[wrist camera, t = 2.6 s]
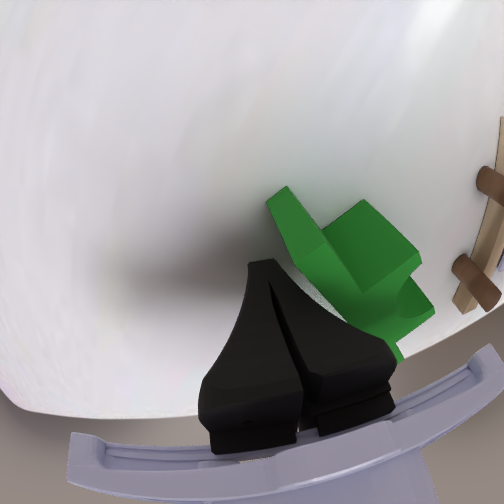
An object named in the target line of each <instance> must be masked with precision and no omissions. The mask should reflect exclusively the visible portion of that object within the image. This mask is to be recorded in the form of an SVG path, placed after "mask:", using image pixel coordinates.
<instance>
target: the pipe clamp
mask: <svg viewBox="0 0 504 504" xmlns="http://www.w3.org/2000/svg"><path fill="white" fill-rule="evenodd" d="M266 203H267V205H268V207H269V209H270V212H271V214H272V216H273V218H274V220H275V222H276V225H277V227H278V229H279V231H280V234H281V236H282V238H283V240H284V242H285V245H286V247H287V249H288V252H289V254H290V256H291V258H292V261H293V263H294V265H295V266H296V267H297V268H298V269H299V270H300V271H301V272H302V273H303V274H304V276H305V277H306V278H307V279H308V280H309V281H310V282H311V283H312V284H313V285H314V286H315V287H316V289H317V290H318V291H319V292H320V293H321V294H322V295H323V296H324V297H325V298H326V299H327V300H328V302H329V303H330V304H331V305H332V306H333V307H334V308H335V309H336V310H337V311H338V313H339V314H340V315H341V316H342V317H343V318H344V319H345V320H346V321H347V323H348V324H350V325H352V326H354V327H356V328H358V329H360V330H362V331H364V332H366V333H369V334H371V335H374V336H376V337H379V338H381V339H384V340H385V342H386V343H387V344H388V346H389V347H390V349H391V350H392V352H393V353H394V355H395V357H396V359H397V364H398V363H400V362H401V361H403V360H404V357H403V355H402V354H401V352H400V350H399V348H398V346H397V345H396V342H397V341H399V340H400V339H402V338H403V337H404V336H406V335H407V334H409V333H410V332H411V331H413V330H414V329H415V328H417V327H418V326H419V325H421V324H422V323H423V322H425V321H426V320H427V319H429V318H430V317H431V316H432V315H434V314H435V310H434V306H433V305H432V304H431V302H430V301H429V300H428V298H427V297H426V296H425V294H424V293H423V292H422V291H421V289H420V288H419V287H418V285H417V284H416V283H415V282H414V280H413V279H412V278H411V277H410V275H411V273H412V272H413V271H414V270H415V269H416V268H417V267H418V266H419V265H421V264H422V260H421V257H420V254H419V251H418V250H417V249H416V248H415V247H414V246H413V245H412V244H411V243H410V242H409V241H408V240H407V239H406V238H405V237H404V236H403V235H402V234H401V233H400V232H399V231H398V230H397V229H396V228H395V227H394V226H393V225H392V224H391V223H390V222H389V221H388V220H386V219H385V218H384V217H383V216H382V215H381V214H380V213H379V212H378V211H377V210H376V209H374V208H373V207H372V206H371V205H370V204H369V203H368V202H367V201H365V200H364V199H363V200H362V201H361V202H359V203H358V204H357V205H355V206H354V207H353V208H351V209H350V210H349V211H347V212H346V213H345V214H343V215H342V216H341V217H339V218H338V219H337V220H335V221H334V222H333V223H331V224H330V225H329V226H327V227H326V228H325V229H323V230H322V231H321V230H320V228H319V227H318V226H317V224H316V223H315V222H314V220H313V219H312V218H311V216H310V215H309V214H308V212H307V211H306V210H305V208H304V207H303V206H302V205H301V203H300V202H299V201H298V199H297V198H296V197H295V196H294V194H293V193H292V192H291V191H290V189H289V188H288V187H287V186H286V187H285V188H283V189H282V190H281V191H279V192H278V193H277V194H276V195H274V196H273V197H272V198H270V199H269V200H268V201H267V202H266Z"/></svg>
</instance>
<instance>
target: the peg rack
mask: <svg viewBox="0 0 504 504" xmlns="http://www.w3.org/2000/svg"><path fill="white" fill-rule="evenodd" d="M477 188H478V190H480V191H481V192H483V193H484V194H486V195H487V196H489V200H488V204H487V208H486V212H485V216H484V219H483V223H482V226H481V229H480V232H479V235H478V239H477V242H476V244H475V247H474V250H473V253H472V256H471V258H469V257H468V256H467V255H466V254H463V255H461V256H460V257H458V258H457V260H456V261H455V262H454V264H453V267H452V272H453V274H454V275H455V276H456V277H457V278H458V279H459V280H460V281H461V283H460V285H459V287H458V290H457V292H456V294H455V296H454V298H453V300H452V301H453V303H454V304H455V305H456V307H457V308H458V309H459V311H460V312H461V313H462V314H465V313H467V312H469V311H471V310H473V309H475V308H476V307H477V305H478V303H479V304H480V305H481V307H482V308H483V309H484V310H485V312H489V311H490V310H491V309H492V308H493V307H494V306H495V305H496V304H497V302H498V301H499V299H500V297H501V295H502V293H501V291H500V290H499V289H498V288H497V287H496V286H495V285H494V283H493V282H492V281H491V280H490V279H491V277H492V275H493V272H494V270H495V268H496V266H497V263H498V261H499V258H500V256H501V253H502V251H503V248H504V118H503V117H501V126H500V137H499V146H498V154H497V160H496V167H495V170H493V169H491V168H489V167H488V166H484V167H482V169H481V170H480V172H479V174H478V177H477Z"/></svg>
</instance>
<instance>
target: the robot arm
mask: <svg viewBox="0 0 504 504" xmlns="http://www.w3.org/2000/svg"><path fill="white" fill-rule="evenodd" d="M498 270H499V271H500V272H501V271H503V270H504V254H503V257H502V259H501V262H500V264H499V266H498ZM396 366H397V359H396V357H395V355H394V353H393V352H392V350H391V349H390V347H389V346H388V344H387V343H386V342H385V340H384V339H381V338H379V337H376V336H374V335H371V334H369V333H366V332H364V331H362V330H360V329H358V328H356V327H354V326H352V325H350V324H348V323H346V322H345V321H343V320H341V319H340V318H338V317H336V316H335V315H333V314H332V313H330V312H329V311H327V310H326V309H325V308H323V307H322V306H321V305H319V304H318V303H317V302H315V301H314V300H313V299H312V298H311V297H310V296H308V295H307V294H306V293H305V292H304V291H303V290H302V289H301V288H300V287H299V286H298V285H297V284H296V283H295V282H294V281H293V280H292V279H291V278H290V277H289V276H288V275H287V273H286V272H285V271H284V270H283V269H282V268H281V266H280V265H279V264H278V262H277V261H276V260H275V259H274V258H272V259H266V260H260V261H254V262H249V264H248V279H247V285H246V291H245V295H244V299H243V303H242V306H241V310H240V313H239V316H238V318H237V321H236V323H235V326H234V328H233V330H232V333H231V335H230V337H229V339H228V341H227V343H226V345H225V346H224V348H223V350H222V352H221V353H220V355H219V357H218V358H217V360H216V361H215V363H214V364H213V366H212V367H211V369H210V370H209V371H208V373H207V374H206V376H205V377H204V378H203V381H202V384H201V388H200V393H199V399H198V416H199V417H198V418H199V420H200V422H201V424H202V425H203V426H204V427H205V428H206V429H207V430H208V431H209V433H210V445H202V446H141V445H140V446H139V445H127V444H116V443H108V442H105V441H104V440H102V439H101V438H99V437H96V436H93V435H88V434H82V433H76V432H72V433H71V439H70V446H69V456H68V465H67V482H69V483H72V484H74V485H78V486H81V487H84V488H87V489H90V490H93V491H97V492H101V493H105V494H109V495H114V496H119V497H125V498H131V499H137V500H144V501H152V502H163V503H176V504H440V503H439V500H438V497H437V494H436V491H435V488H434V485H433V482H432V479H431V476H430V473H429V471H428V468H427V465H426V462H425V460H424V457H423V455H422V452H421V448H423V447H425V446H427V445H429V444H430V443H432V442H434V441H435V440H437V439H439V438H440V437H442V436H444V435H445V434H447V433H448V432H450V431H451V430H453V429H454V428H456V427H457V426H459V425H460V424H462V423H463V422H465V421H466V420H467V419H468V418H470V417H471V416H473V415H474V414H475V413H477V412H478V411H479V410H481V409H482V408H483V407H485V406H486V405H487V404H488V403H489V402H491V401H492V400H493V399H494V398H495V397H496V396H497V395H498V394H499V393H501V392H502V391H503V390H504V364H503V362H502V360H501V359H500V357H499V356H498V354H497V352H496V351H495V349H494V348H493V346H492V345H491V344H488V345H486V346H485V347H483V348H482V349H480V350H479V351H477V352H476V353H475V354H474V355H473V356H472V357H471V358H470V360H469V361H468V363H467V364H465V365H464V366H462V367H460V368H459V369H457V370H456V371H454V372H452V373H450V374H448V375H447V376H445V377H443V378H441V379H440V380H437V381H436V382H434V383H432V384H430V385H428V386H426V387H424V388H422V389H420V390H418V391H416V392H414V393H411V394H410V395H407V396H405V397H403V398H400V399H398V400H396V401H393V399H392V397H391V394H390V392H389V391H391V387H390V384H389V382H388V380H389V379H390V377H391V376H392V374H393V372H394V371H395V368H396ZM298 428H299V432H297V429H298ZM272 456H274V457H272ZM266 457H270V458H266ZM259 458H265V459H261V460H256V461H251V462H246V463H240V462H238V461H245V460H253V459H259Z"/></svg>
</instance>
